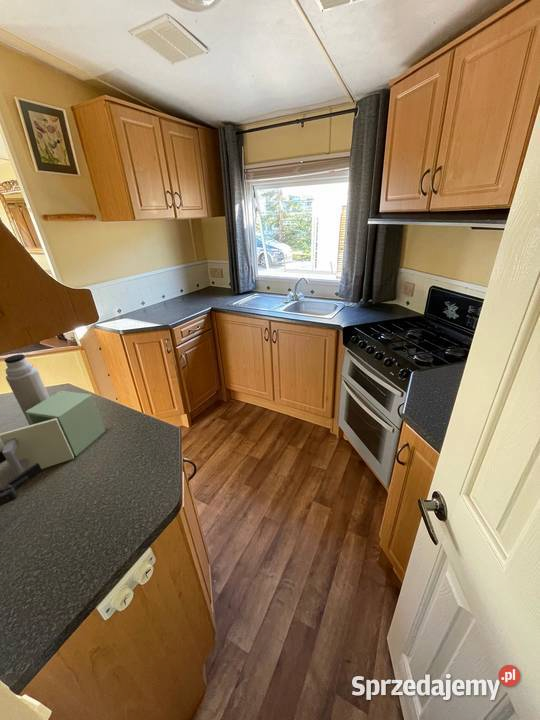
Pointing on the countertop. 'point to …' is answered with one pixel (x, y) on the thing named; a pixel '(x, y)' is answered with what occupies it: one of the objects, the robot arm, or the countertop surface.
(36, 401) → the thermos bottle
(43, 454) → the machine door
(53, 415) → the box
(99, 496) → the countertop surface
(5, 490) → the robot arm
